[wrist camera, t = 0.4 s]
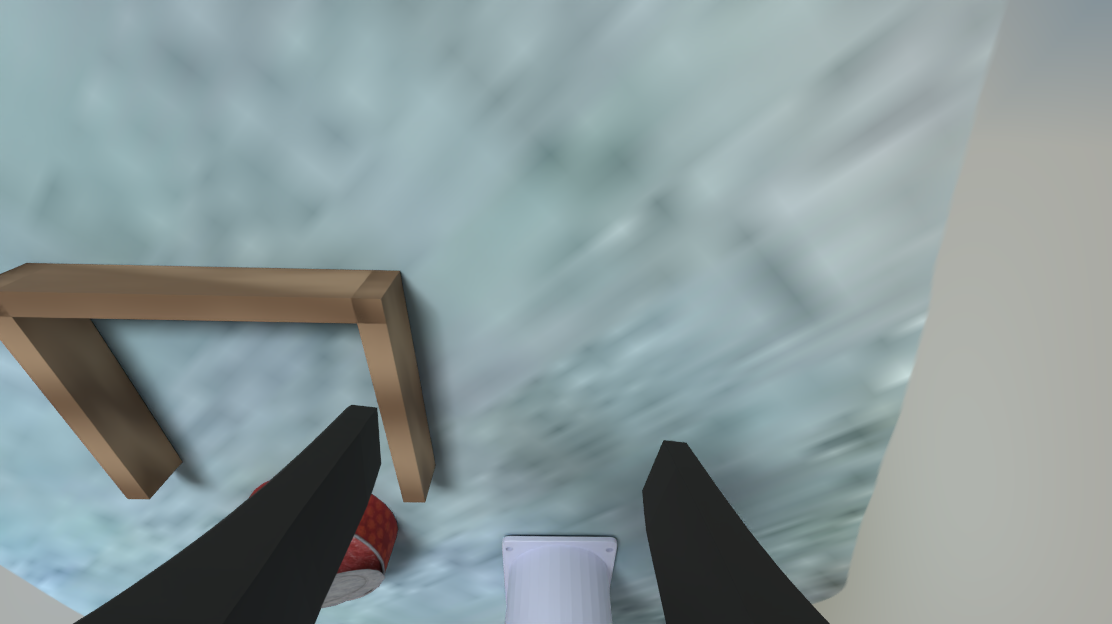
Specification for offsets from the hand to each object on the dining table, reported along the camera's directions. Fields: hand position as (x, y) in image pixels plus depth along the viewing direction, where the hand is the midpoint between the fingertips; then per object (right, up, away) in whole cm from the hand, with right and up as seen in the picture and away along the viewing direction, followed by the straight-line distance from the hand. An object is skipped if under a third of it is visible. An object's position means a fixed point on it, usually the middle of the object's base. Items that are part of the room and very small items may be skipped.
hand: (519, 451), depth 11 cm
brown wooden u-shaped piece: (-14, -1, +12) cm, 19 cm away
